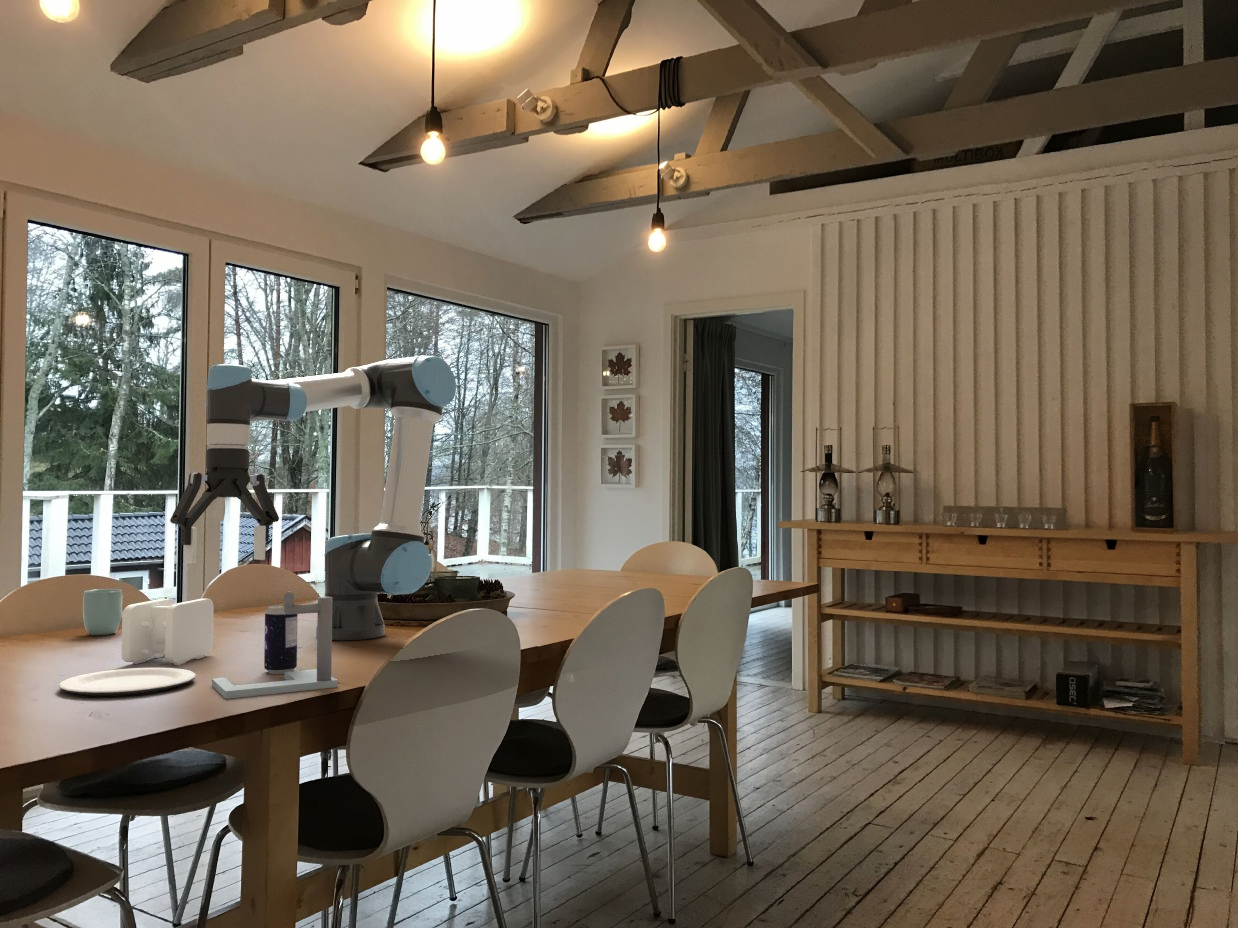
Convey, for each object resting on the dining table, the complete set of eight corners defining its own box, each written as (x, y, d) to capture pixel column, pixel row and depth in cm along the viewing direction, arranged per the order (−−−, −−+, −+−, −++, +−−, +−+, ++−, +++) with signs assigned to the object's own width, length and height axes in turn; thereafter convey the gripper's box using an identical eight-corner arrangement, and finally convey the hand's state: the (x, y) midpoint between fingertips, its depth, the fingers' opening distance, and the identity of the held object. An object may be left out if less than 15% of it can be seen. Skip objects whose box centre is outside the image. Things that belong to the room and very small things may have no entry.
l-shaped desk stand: (318, 675, 175) (319, 583, 175) (337, 686, 165) (338, 589, 165) (211, 685, 165) (213, 588, 166) (225, 698, 155) (227, 594, 155)
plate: (103, 675, 175) (103, 666, 175) (216, 676, 175) (216, 667, 175) (29, 700, 155) (30, 689, 155) (158, 702, 154) (158, 691, 154)
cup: (109, 636, 218) (110, 592, 218) (75, 636, 218) (76, 592, 218) (127, 631, 226) (128, 588, 226) (94, 631, 226) (95, 588, 226)
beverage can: (288, 667, 182) (289, 603, 182) (302, 671, 178) (303, 606, 178) (258, 671, 178) (259, 606, 178) (272, 675, 174) (273, 609, 174)
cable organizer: (169, 668, 181) (171, 606, 181) (117, 666, 182) (119, 605, 182) (214, 655, 196) (215, 597, 196) (165, 653, 197) (166, 596, 197)
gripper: (277, 450, 193) (275, 557, 192) (151, 445, 174) (149, 563, 173) (298, 449, 188) (296, 558, 188) (172, 444, 169) (169, 566, 168)
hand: (226, 561), depth 180 cm, fingers open, 13 cm apart
